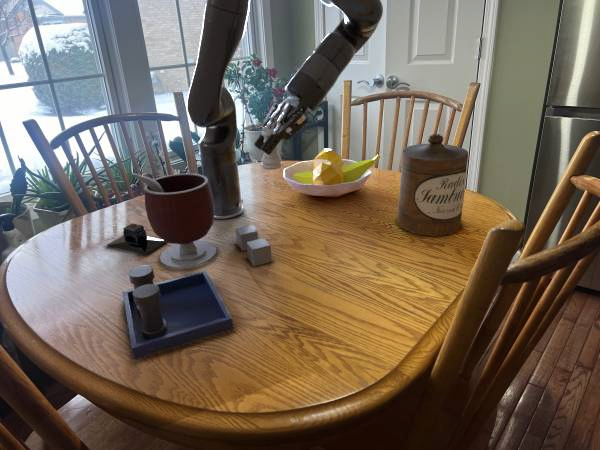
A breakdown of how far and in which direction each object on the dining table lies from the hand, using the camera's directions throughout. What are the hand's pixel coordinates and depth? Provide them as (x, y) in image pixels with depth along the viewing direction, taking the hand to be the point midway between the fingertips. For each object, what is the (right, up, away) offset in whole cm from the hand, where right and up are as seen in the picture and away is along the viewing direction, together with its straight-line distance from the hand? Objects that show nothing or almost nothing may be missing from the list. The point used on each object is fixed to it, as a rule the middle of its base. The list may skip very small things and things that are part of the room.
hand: (261, 149), depth 89 cm
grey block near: (-1, -23, +5) cm, 24 cm away
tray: (-14, -31, -12) cm, 37 cm away
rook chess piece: (+2, -3, +3) cm, 5 cm away
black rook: (-19, -30, -11) cm, 38 cm away
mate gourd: (-18, -22, +8) cm, 30 cm away
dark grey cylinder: (-16, -33, -17) cm, 40 cm away
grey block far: (-4, -20, +12) cm, 24 cm away
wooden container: (+39, -15, +18) cm, 46 cm away
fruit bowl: (+17, -5, +43) cm, 47 cm away
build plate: (-31, -20, +15) cm, 40 cm away
